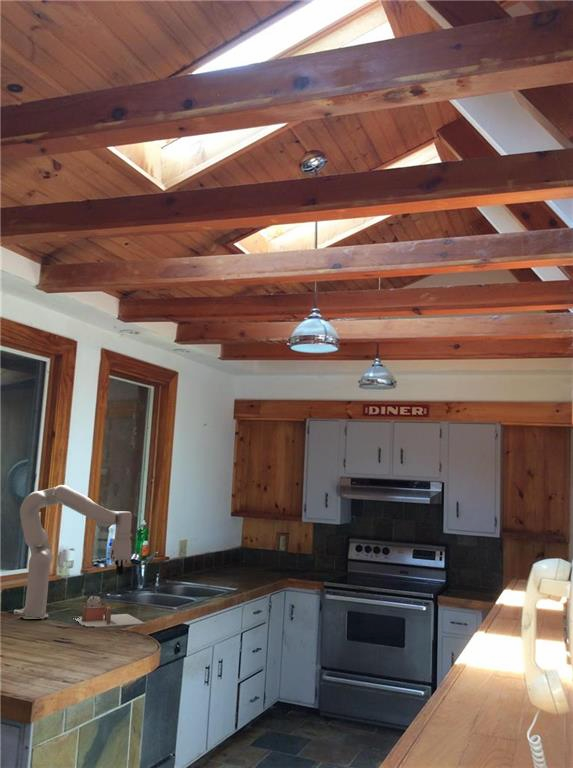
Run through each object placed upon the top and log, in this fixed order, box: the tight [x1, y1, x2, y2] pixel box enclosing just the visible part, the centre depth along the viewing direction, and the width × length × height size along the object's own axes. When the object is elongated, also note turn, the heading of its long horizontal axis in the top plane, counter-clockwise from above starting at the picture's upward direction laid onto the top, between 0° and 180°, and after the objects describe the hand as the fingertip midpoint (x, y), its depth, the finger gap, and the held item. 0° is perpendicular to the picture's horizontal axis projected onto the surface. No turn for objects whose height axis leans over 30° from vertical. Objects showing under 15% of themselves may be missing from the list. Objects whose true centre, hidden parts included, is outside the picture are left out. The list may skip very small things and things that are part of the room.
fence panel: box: [106, 605, 112, 624], centre depth 315 cm, size 11×2×7 cm, turn 19°
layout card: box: [72, 613, 146, 628], centre depth 319 cm, size 28×24×1 cm
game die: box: [84, 594, 104, 608], centre depth 342 cm, size 9×8×10 cm
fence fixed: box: [81, 603, 111, 621], centre depth 319 cm, size 13×2×7 cm, turn 123°
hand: (119, 574), depth 330 cm, fingers closed
